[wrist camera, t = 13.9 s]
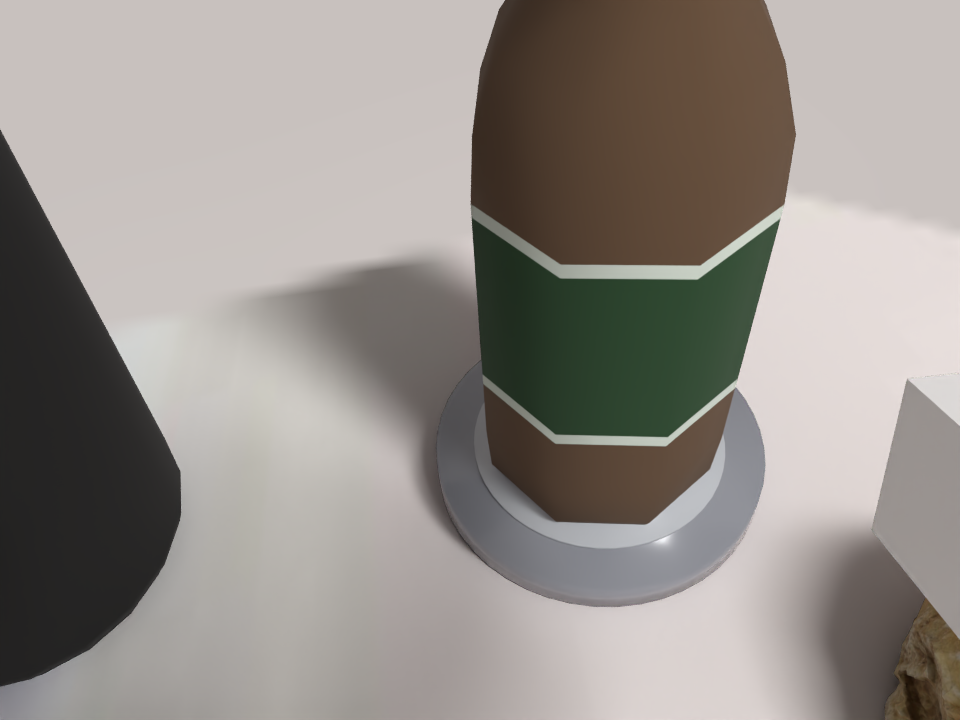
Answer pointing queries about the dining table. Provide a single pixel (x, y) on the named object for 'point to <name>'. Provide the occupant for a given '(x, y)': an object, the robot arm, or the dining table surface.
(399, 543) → the dining table surface
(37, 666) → the coffee jar
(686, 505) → the dish
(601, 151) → the beer bottle
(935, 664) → the bread roll
